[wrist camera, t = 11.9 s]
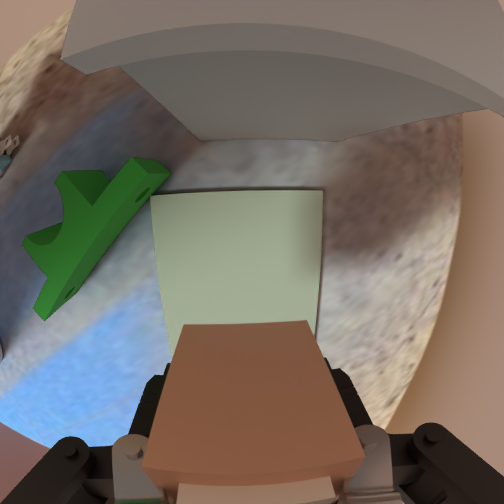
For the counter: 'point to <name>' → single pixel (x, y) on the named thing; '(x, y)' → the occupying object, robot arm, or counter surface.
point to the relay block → (250, 419)
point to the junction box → (298, 61)
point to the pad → (237, 257)
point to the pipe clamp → (88, 225)
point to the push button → (7, 150)
